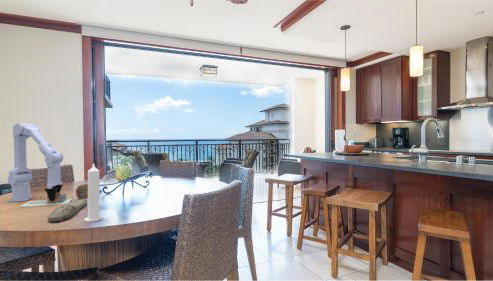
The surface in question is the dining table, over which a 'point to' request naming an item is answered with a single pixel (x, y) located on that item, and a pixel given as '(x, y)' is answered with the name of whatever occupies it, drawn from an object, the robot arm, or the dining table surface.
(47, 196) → the block
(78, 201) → the long grey stone
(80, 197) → the tin
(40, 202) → the board
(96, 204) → the candle
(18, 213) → the dining table surface
